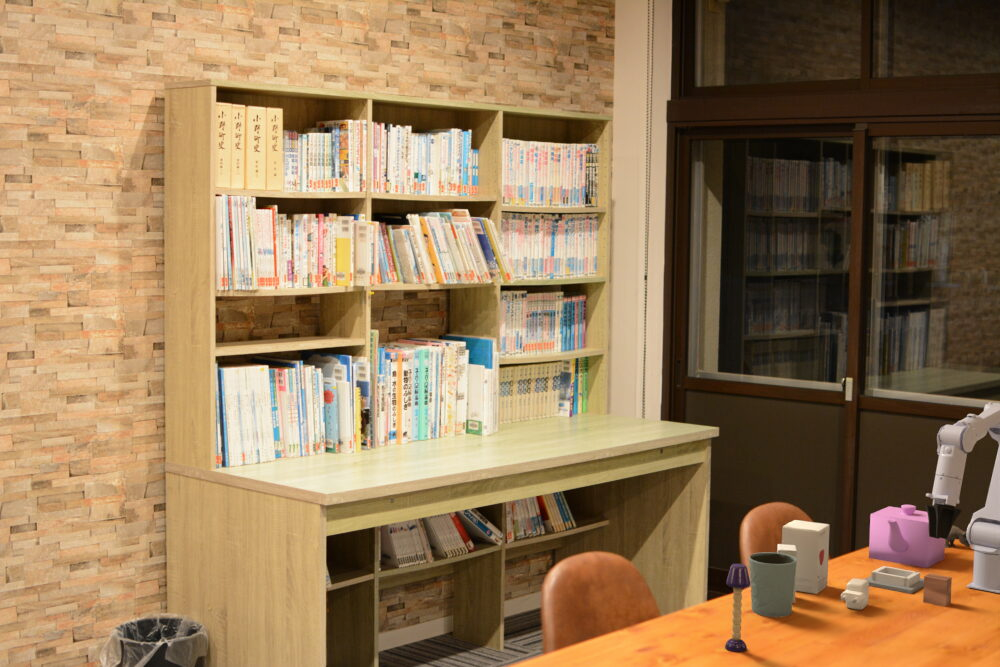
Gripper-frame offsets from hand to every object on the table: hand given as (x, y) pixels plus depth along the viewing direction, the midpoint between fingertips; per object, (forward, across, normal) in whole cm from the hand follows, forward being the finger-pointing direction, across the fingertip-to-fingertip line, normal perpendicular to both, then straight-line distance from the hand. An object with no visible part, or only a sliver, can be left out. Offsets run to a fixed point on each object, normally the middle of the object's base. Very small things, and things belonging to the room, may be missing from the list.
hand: (937, 537), depth 262 cm
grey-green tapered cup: (+24, +7, -33) cm, 41 cm away
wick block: (+14, -8, +4) cm, 16 cm away
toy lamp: (+32, +32, -40) cm, 60 cm away
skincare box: (+21, -3, -29) cm, 36 cm away
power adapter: (+20, +2, -15) cm, 25 cm away
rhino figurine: (0, -62, +16) cm, 65 cm away
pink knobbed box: (+6, -46, +2) cm, 47 cm away
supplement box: (+18, -14, -25) cm, 34 cm away
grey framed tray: (+12, -22, -3) cm, 25 cm away
